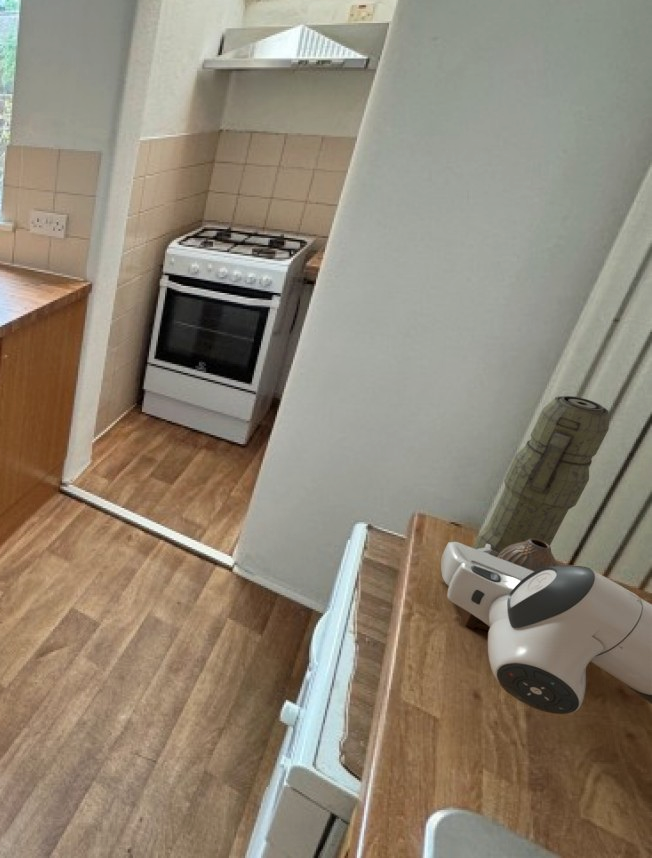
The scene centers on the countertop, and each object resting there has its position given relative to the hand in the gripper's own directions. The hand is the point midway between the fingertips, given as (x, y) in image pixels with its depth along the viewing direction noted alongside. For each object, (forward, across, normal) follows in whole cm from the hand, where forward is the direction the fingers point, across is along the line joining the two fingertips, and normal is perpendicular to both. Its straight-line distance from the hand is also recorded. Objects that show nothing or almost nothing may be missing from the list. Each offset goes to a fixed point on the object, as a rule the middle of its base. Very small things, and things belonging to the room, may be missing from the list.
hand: (531, 564), depth 93 cm
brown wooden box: (+2, 0, +13) cm, 13 cm away
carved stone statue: (+16, 0, +13) cm, 21 cm away
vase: (+2, 0, +6) cm, 6 cm away
